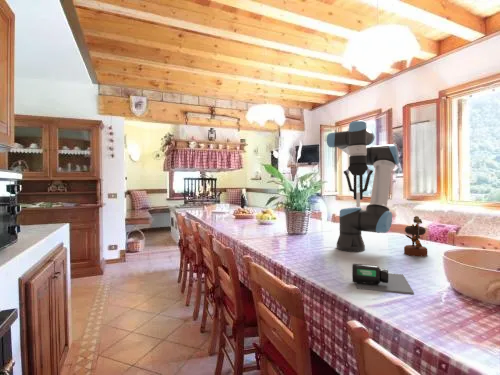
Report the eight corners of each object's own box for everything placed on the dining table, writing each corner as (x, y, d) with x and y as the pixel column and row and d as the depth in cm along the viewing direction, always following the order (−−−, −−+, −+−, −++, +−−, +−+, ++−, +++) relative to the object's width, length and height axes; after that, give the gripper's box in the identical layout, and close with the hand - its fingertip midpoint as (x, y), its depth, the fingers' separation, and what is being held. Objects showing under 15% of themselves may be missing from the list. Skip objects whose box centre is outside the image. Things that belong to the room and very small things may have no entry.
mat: (357, 288, 103) (357, 287, 103) (355, 271, 122) (355, 270, 122) (414, 294, 97) (414, 292, 97) (402, 275, 116) (402, 274, 116)
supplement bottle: (352, 274, 103) (389, 277, 99) (352, 259, 109) (387, 262, 105) (352, 286, 107) (388, 290, 103) (352, 271, 112) (386, 274, 108)
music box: (435, 257, 143) (431, 217, 142) (412, 259, 143) (409, 219, 143) (418, 249, 158) (414, 213, 157) (397, 251, 158) (394, 215, 158)
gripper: (342, 155, 131) (343, 207, 131) (374, 154, 127) (374, 207, 127) (343, 156, 138) (343, 205, 138) (372, 155, 134) (372, 206, 134)
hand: (358, 206), depth 133 cm, fingers closed
